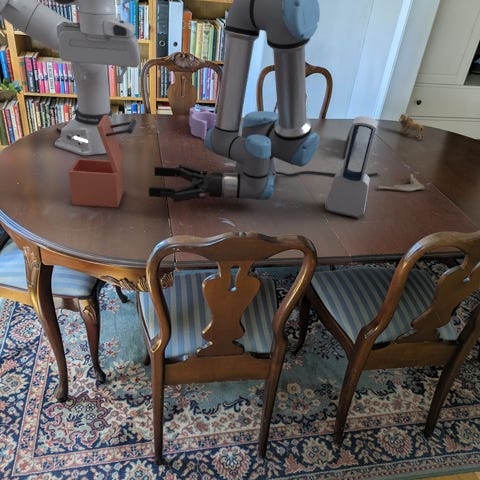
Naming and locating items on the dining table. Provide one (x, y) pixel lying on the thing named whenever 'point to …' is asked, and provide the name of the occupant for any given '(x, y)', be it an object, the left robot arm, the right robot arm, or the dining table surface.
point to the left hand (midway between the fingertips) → (102, 81)
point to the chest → (95, 183)
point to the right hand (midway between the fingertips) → (151, 181)
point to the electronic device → (352, 178)
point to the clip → (201, 121)
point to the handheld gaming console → (348, 141)
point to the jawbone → (405, 186)
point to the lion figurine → (410, 125)
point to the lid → (113, 140)
